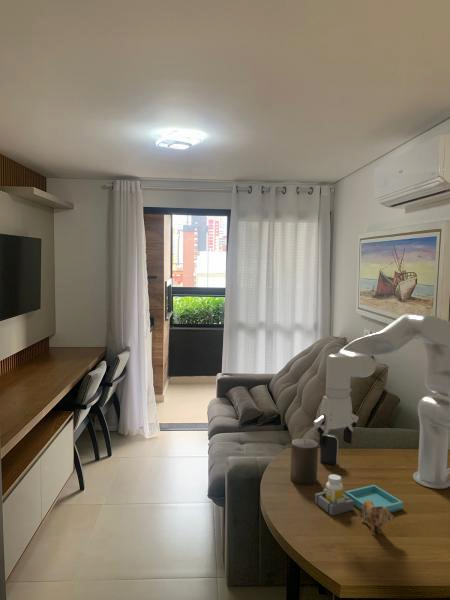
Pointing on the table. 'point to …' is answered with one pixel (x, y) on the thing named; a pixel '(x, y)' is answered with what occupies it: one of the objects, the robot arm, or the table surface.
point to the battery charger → (330, 450)
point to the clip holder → (336, 508)
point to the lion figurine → (375, 515)
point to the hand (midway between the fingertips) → (335, 444)
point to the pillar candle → (304, 461)
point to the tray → (374, 498)
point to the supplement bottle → (334, 488)
